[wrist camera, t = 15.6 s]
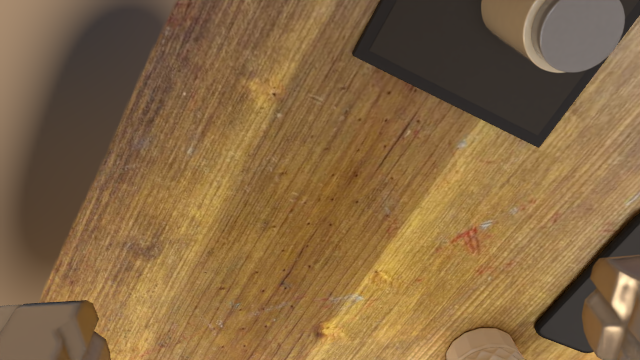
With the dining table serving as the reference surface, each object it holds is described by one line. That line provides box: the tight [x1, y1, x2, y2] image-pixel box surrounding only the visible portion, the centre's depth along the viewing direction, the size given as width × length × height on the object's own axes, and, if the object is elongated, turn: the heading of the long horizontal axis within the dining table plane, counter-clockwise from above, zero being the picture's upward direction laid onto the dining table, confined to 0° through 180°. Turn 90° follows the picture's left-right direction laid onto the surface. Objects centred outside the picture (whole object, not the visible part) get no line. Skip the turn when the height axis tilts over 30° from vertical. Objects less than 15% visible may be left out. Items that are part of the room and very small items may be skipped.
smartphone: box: [535, 214, 640, 353], centre depth 47 cm, size 7×1×15 cm
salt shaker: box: [481, 0, 625, 73], centre depth 31 cm, size 5×5×8 cm
